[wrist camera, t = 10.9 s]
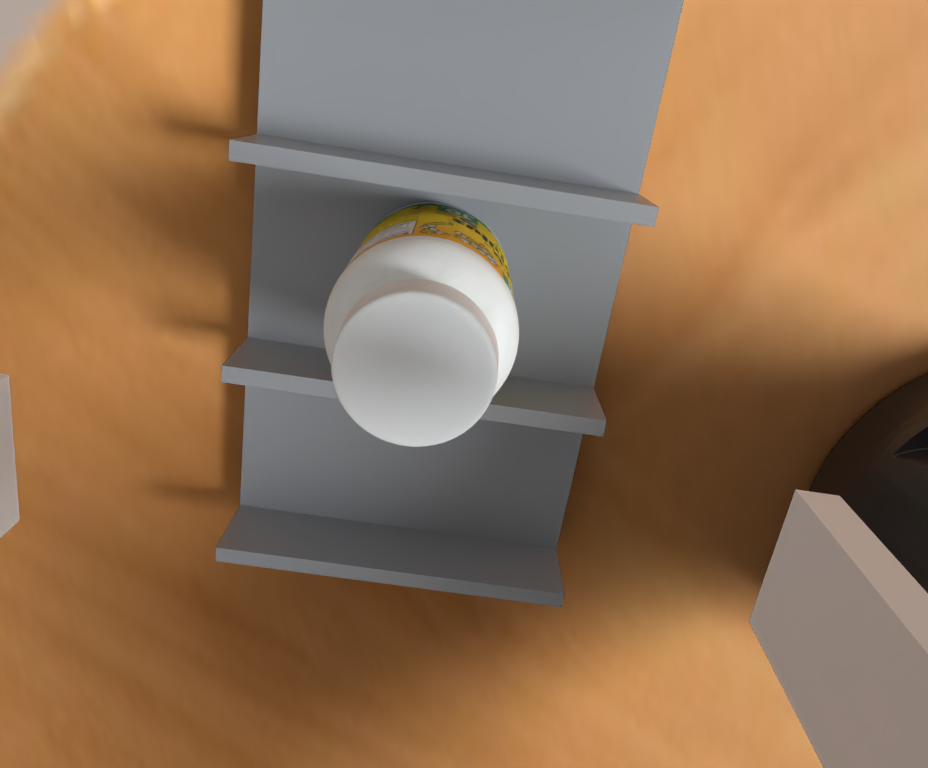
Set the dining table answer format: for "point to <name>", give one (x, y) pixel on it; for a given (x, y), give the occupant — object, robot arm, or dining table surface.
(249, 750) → the dining table surface
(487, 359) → the supplement bottle
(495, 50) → the rack
